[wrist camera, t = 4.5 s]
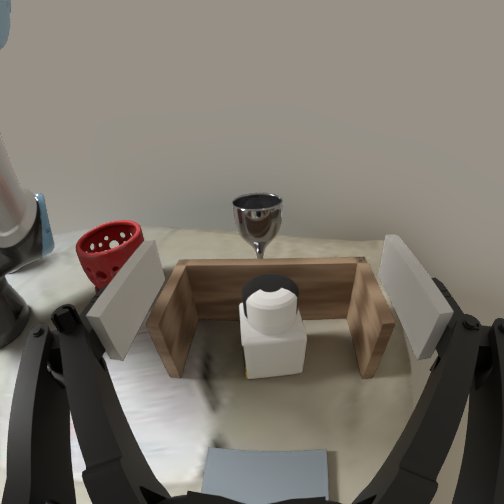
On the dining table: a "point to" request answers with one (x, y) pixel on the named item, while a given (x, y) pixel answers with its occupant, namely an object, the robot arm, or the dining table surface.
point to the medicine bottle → (271, 327)
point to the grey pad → (265, 475)
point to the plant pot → (108, 250)
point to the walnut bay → (309, 302)
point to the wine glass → (258, 219)
